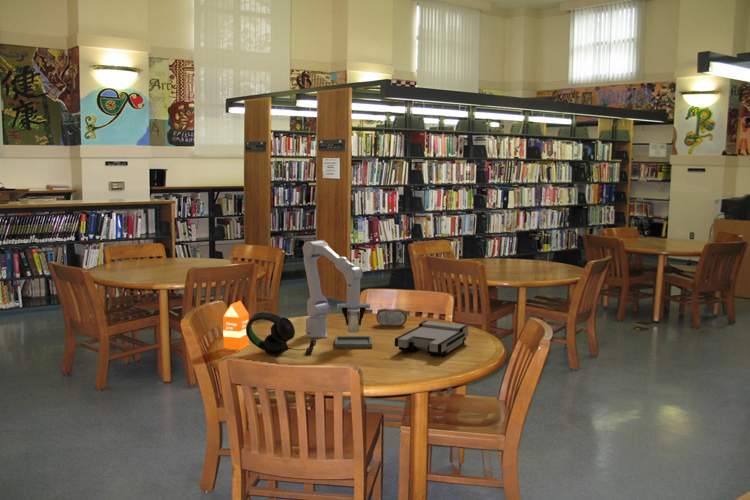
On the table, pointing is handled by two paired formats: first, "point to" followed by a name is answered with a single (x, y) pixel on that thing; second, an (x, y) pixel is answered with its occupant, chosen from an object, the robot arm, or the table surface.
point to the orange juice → (235, 327)
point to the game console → (433, 338)
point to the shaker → (353, 321)
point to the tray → (353, 342)
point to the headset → (275, 334)
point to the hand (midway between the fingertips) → (353, 324)
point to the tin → (391, 317)
